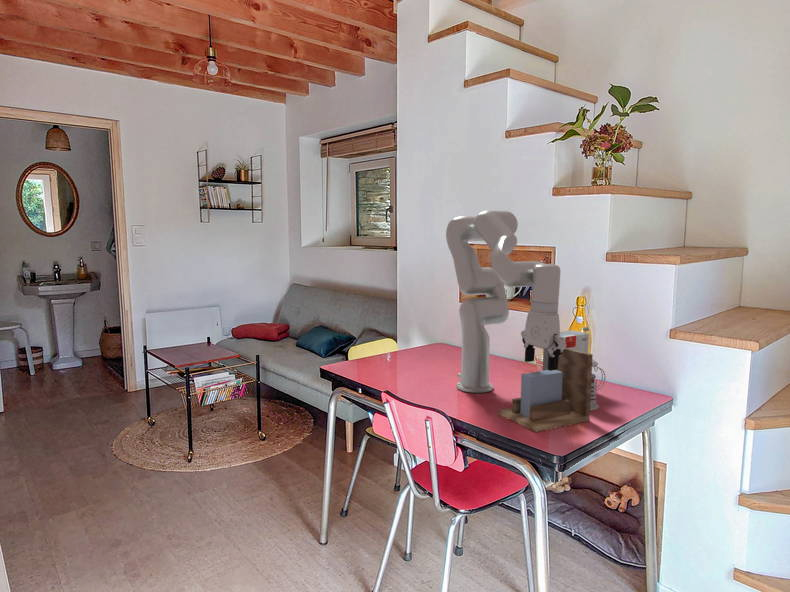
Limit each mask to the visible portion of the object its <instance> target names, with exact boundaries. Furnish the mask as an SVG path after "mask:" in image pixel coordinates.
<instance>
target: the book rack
mask: <svg viewBox="0 0 790 592" xmlns="http://www.w3.org/2000/svg"><path fill="white" fill-rule="evenodd" d="M558 347H559V346H558ZM552 350H553V352H554V349H552ZM549 357H550V353H549V351H548V360H549ZM592 359H593V354H592V353H589V352H588V353H585V352H581V351H577V350H573V349H569V348H565V349H564V352H563V353H562V354H561V356H559V360H558V369H557V371H560V372H563V378H562V401H556V402H551V403H546V404H540V405H535V406H530V418H527V417H525V416H523V415H520V408H521V397H517V398H512V400H511V403H512V404H511V407H508V408H507V407H506V408H502V409H498V415H499V416H500V415H502V416H501V417H503V416H504V417H503V418H505V417H506V418H505V419H507V418H509V419H511V420H513V421H515V422H517V423H519V424H521V425H520V426H522V425H523V426H522V427H524V426H525V427H524V428H526V427H527V428H526V429H528V428H529V429H528V430H530V429H531V430H530V431H532V430H533V431H532V432H534V431H535V433H540V432H539V431H541V432H543V431H542V430H545V431H547V430H546V429H550V430H552V429H551V428H554V429H556V428H555V427H559V428H561V427H560V426H564V427H566V426H565V425H568V426H571V425H570V424H573V425H576V423H577V424H582V423H586V422H589V421H590V419H591V418H590V417H591V410H590V400H591V378H592V374H593V373H592V372H593V367H592ZM547 370H548V369H547ZM509 419H508V420H509ZM511 420H510V421H511ZM513 421H512V422H513ZM515 422H514V423H515ZM581 422H582V423H581ZM517 423H516V424H517ZM519 424H518V425H519Z"/></svg>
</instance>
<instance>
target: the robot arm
mask: <svg viewBox="0 0 790 592" xmlns="http://www.w3.org/2000/svg"><path fill="white" fill-rule="evenodd" d="M518 224H519V223H518V220H517V217H516V216H515V214H514V213H513V212H511V211H507V210H483V211H482V212H480V213H478V214H477V215H476V216H472V215H463V216H456V217H453V218H452V219H450V220H449V222H448V224H447V227H446V230H445V231H446V232H445V239H446V242H447V243H446V244H447V246H448V249H449V252H450V254H451V257H452V260H453V264H454V270H455V274H456V280H457V281H456V282H457V285H458V288H459V291H460V292H461V294H463V295H465V296H479V295H481V296H482V295H485V297H472V298H467V299H465V300H464V301H462V302H461V304H460V306H459V310H458V311H459V313H458V314H459V318H460V326H461V372H459V373H457V375H456V376H457V377H458V378H460V381H458V382H457V383H456V388H457V389H458V390H460V391H462V392H464V393H465V392H466V393H475V394H476V393H478V394H480V393H482V394H483V393H488V392H491V391H493V389H494V385H493V383H491V382H490V349H491V348H490V347H491V345H490V340H491V339H490V335H489V333H488V331H487V330H486V328H485V326H489V325H498V324H503V323H505V322H506V321H507V320H508V317H509V315H510V314H509V313H510V310H509V302H508V298H507V293H506V288H505V286H507V287H509V288H525V287H526V288H527V287H528V288H529V287H531V298H530V300H531V301H530V309H529V310H528V312H527V317H526V321H525V328H524V330H521V332H520V335H521V338H522V343H523V348H524V349H525V350H524V351H525V352H524V362H525V363H529V362H530V363H531V362H534V361H535V356H536V355H535V353H536V352H535V350H536V348H539V349H541V350H543V349H548V351H549V353H550V357H549V360H548V370H549V371H552V370H557V369H558V360H559V356H561V354H562V353H563V352H564V349H565V347H566V343H565V342H564V341H563V340H562V339H561V338H560V332H561V324H560V322H561V321H560V315H559V313H558V312H559V301H560V287H561V286H560V284H561V268H560V266H559V265H557V264H553V263H544V262H542V261H537V260H530V261H529V260H523V261H521V260H517V261H514V260H511V258H510V257H509V256H508V255H510V254H511V253H512V252H513V251H514V250H515V249H516V247H517V245H518V239H517V238H518V237H517V236H516V232H517V231H518V228H519V227H518V226H519V225H518ZM469 242H484V243H486V245H487V246H488V247H489V249H490V250H491V256H490V263H491V267H485V266H484V267H482V266H481V265H480V262H479V256H478V254H477V252H476V250H475V249H474V248H473V246H472V245H470V243H469ZM558 346H559V347H558ZM535 347H536V348H535ZM552 349H554V352H553V350H552Z"/></svg>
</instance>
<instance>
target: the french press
mask: <svg viewBox="0 0 790 592" xmlns="http://www.w3.org/2000/svg"><path fill="white" fill-rule="evenodd" d="M588 331H590V328H589V327H588V326H584V327H583V328H582V332H584V333H585V346H586V333H587V332H588ZM598 365H599V363H598V362H597V361H596V360H594V359H593V358H592V368H593V370H594V372H597V370H598V369H599V371H600V372H601V381H600V382H599V385H598V384H597V380H596V375H595V374H594V373H592V378H591V400H590V411H595V410H598V409H599V408H600V406H599V405H598V404H597V391H599V390H600V389H602V388H603V387H604V385H605V382H606V373H605V371H604V369H603V368H601V367H599V366H598ZM603 376H604V377H603ZM601 385H602V386H601ZM600 386H601V387H600ZM598 387H599V388H598Z"/></svg>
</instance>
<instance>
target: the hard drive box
mask: <svg viewBox="0 0 790 592" xmlns="http://www.w3.org/2000/svg"><path fill="white" fill-rule="evenodd" d="M560 338H561V339H562V340H563V341H564V342H565V343H566V347H565V348H569V349H573V350H577V351H581V352H585V353H589V346H590V345H589V344H590V333H588V332H586V346H585V331H577V330H565V331H560ZM542 350H543V352H542V354H543V355H542V370H541V371H544V370H547V369H548V349H542Z"/></svg>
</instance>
